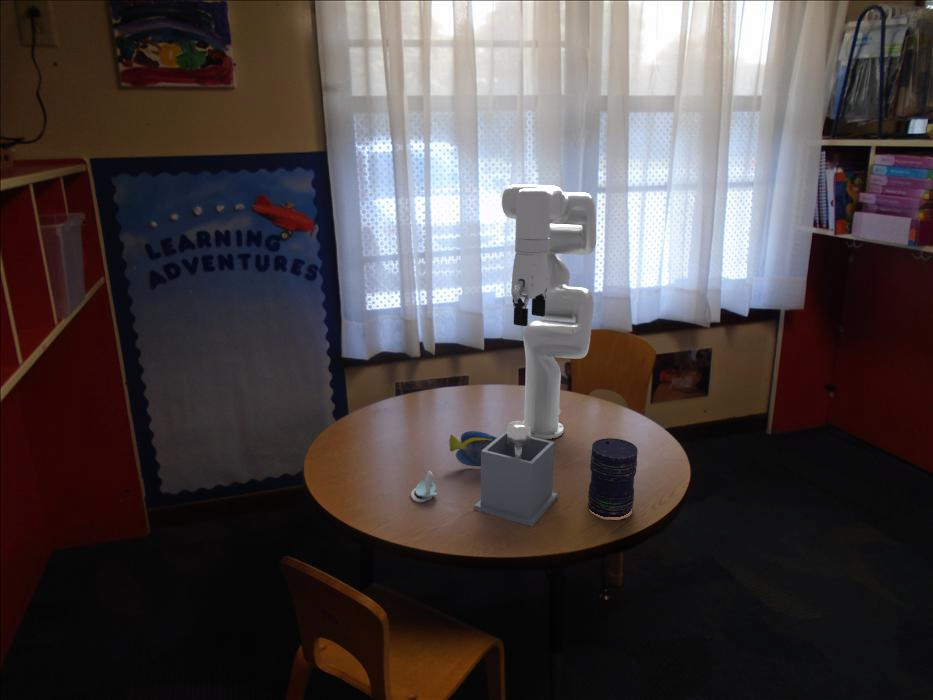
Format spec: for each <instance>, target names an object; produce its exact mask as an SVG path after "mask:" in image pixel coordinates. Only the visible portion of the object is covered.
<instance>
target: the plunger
mask: <svg viewBox="0 0 933 700" xmlns="http://www.w3.org/2000/svg"><path fill="white" fill-rule="evenodd" d="M506 431H507V443H508V444H509V445H510V446H513V447H515V454H514V457H515V458H519V459H522V447H526V446H528V445H529V444H530V431H531V425H530V424H529V423H527V422H524V421H523V420H512V421H509V422H508V423H507V429H506Z"/></svg>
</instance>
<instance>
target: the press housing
mask: <svg viewBox="0 0 933 700" xmlns="http://www.w3.org/2000/svg"><path fill="white" fill-rule="evenodd" d="M514 454H515V447H513V446H510V445H509V444H508V443H507V430H505V431H503V432H502V433H501V434H500V435H499V436H497V438H496V439H495V440H494V441H493V442H492V443H490V444H489V445H488V446H487V447H485V448H484V449H483V450H482V451H481V466H480V499H479V500H478V501H477V502H476V503H475V504H474V506H473V507H474V508H473V509H474V510H475V511H479V512H483V513H485V514H489V515H491V516H496V517H499V518H502V519H506V520H509V521H512V522H517V523H519V524H523V525H524V526H525V525H526V526H529V527H532V528H533V527H534V526H535V524H536V523H537V522H538V521H540V518H541V517H542V516H543V515H544V514H545V513H546V511H547V510H549V508H550V507H551V506H552V504H554V502H555V501H556V500H557V499H558V494H559V493H558V492H554V491H553V483H554V481H553V479H554V459H555V441H551V440H548V439H539V438H535V437H530V444H529V445H528V446H526V447H522V459H519V458H515V457H514ZM556 498H557V499H556ZM555 499H556V500H555ZM550 505H551V506H550ZM544 512H545V513H544ZM543 513H544V514H543Z"/></svg>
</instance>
